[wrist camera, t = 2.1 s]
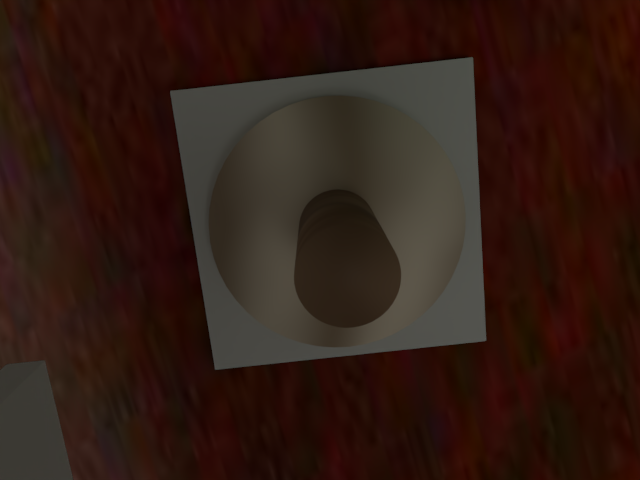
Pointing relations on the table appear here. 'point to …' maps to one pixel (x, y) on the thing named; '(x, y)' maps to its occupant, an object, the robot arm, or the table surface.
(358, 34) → the table surface
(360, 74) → the mat
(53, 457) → the robot arm
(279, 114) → the lid
